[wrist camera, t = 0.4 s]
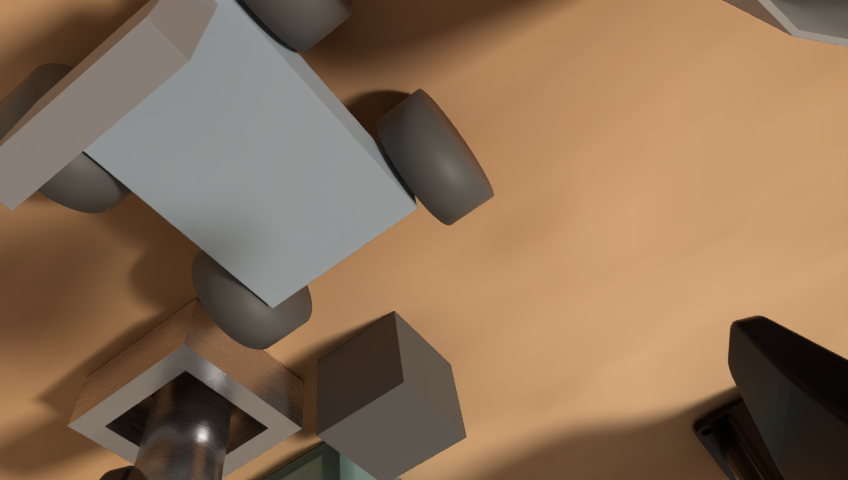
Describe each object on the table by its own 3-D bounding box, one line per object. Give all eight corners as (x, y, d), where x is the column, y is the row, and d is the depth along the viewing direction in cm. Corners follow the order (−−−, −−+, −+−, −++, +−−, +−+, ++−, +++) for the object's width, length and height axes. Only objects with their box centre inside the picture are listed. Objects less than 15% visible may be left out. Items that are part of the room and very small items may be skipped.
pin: (252, 380, 28) (225, 595, 20) (200, 414, 28) (155, 634, 21) (197, 340, 26) (146, 556, 19) (143, 377, 27) (74, 600, 19)
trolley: (479, 158, 23) (540, 303, 17) (280, 296, 25) (265, 472, 19) (254, -132, 18) (211, -87, 11) (25, 78, 20) (-125, 220, 13)
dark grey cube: (450, 363, 29) (466, 437, 25) (377, 407, 30) (383, 484, 26) (394, 309, 27) (403, 382, 23) (317, 359, 28) (316, 435, 24)
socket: (303, 381, 28) (302, 428, 26) (200, 448, 30) (191, 497, 27) (196, 298, 25) (184, 343, 23) (87, 376, 26) (67, 426, 24)
